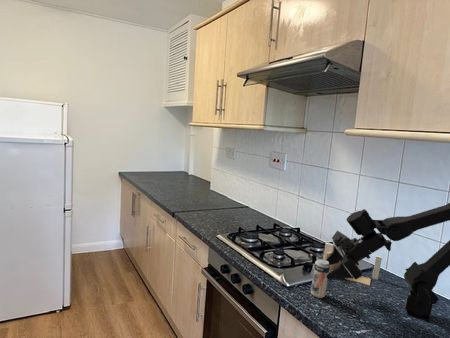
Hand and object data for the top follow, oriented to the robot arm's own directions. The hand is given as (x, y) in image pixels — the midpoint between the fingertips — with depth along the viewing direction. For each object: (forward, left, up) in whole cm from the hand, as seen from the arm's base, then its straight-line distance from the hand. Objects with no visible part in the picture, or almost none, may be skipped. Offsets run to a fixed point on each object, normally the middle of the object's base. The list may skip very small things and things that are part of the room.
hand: (325, 271), depth 105 cm
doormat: (-10, -21, -9) cm, 25 cm away
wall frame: (-6, -26, -9) cm, 28 cm away
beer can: (+1, 0, -9) cm, 9 cm away
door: (-1, -21, -8) cm, 22 cm away
